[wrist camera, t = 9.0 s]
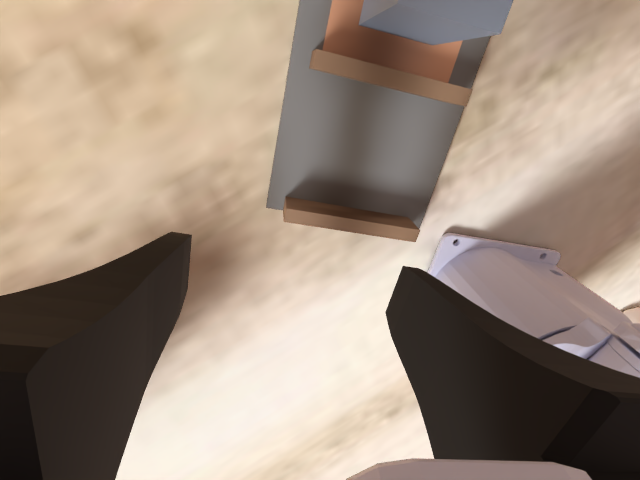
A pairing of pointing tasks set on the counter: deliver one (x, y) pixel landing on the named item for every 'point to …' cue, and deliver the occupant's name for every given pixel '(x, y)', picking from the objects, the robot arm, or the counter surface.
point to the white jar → (633, 314)
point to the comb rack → (365, 122)
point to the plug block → (436, 18)
